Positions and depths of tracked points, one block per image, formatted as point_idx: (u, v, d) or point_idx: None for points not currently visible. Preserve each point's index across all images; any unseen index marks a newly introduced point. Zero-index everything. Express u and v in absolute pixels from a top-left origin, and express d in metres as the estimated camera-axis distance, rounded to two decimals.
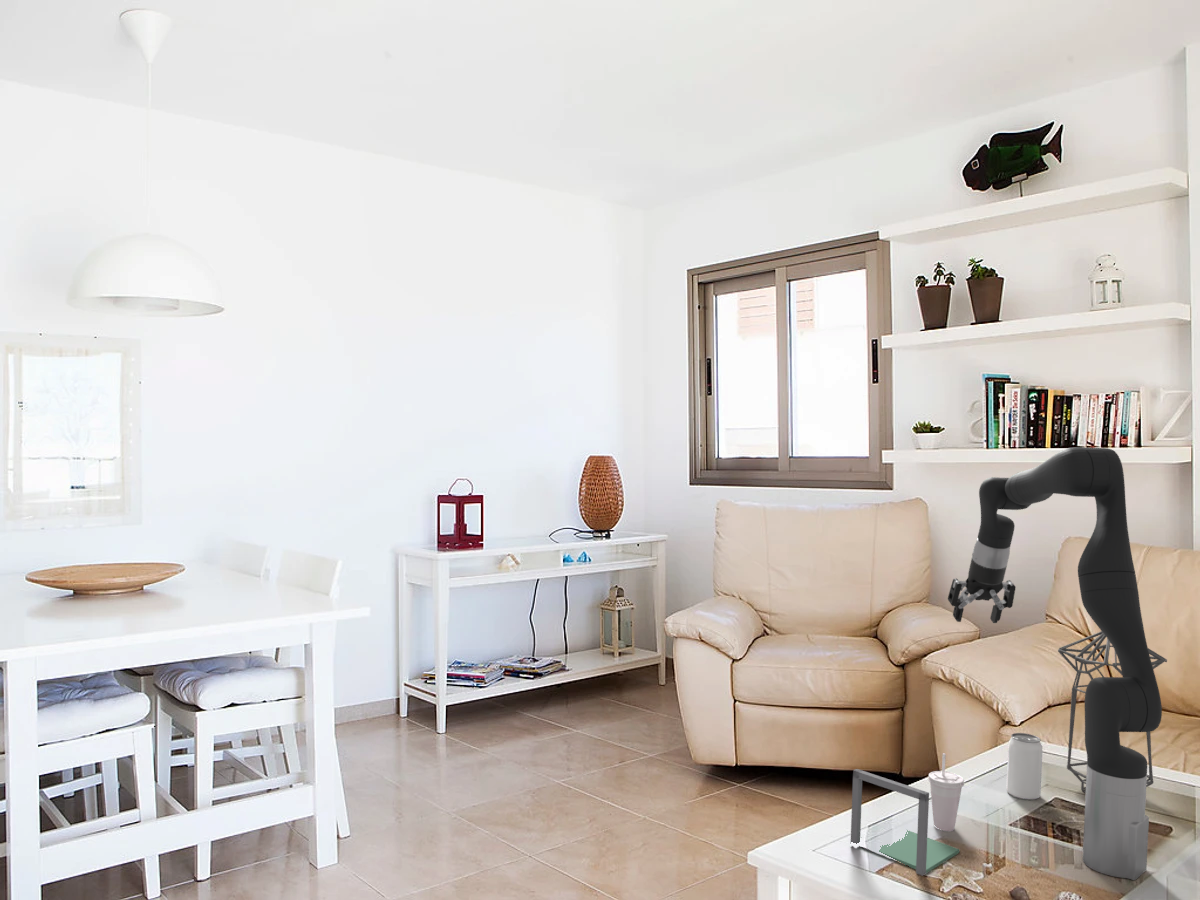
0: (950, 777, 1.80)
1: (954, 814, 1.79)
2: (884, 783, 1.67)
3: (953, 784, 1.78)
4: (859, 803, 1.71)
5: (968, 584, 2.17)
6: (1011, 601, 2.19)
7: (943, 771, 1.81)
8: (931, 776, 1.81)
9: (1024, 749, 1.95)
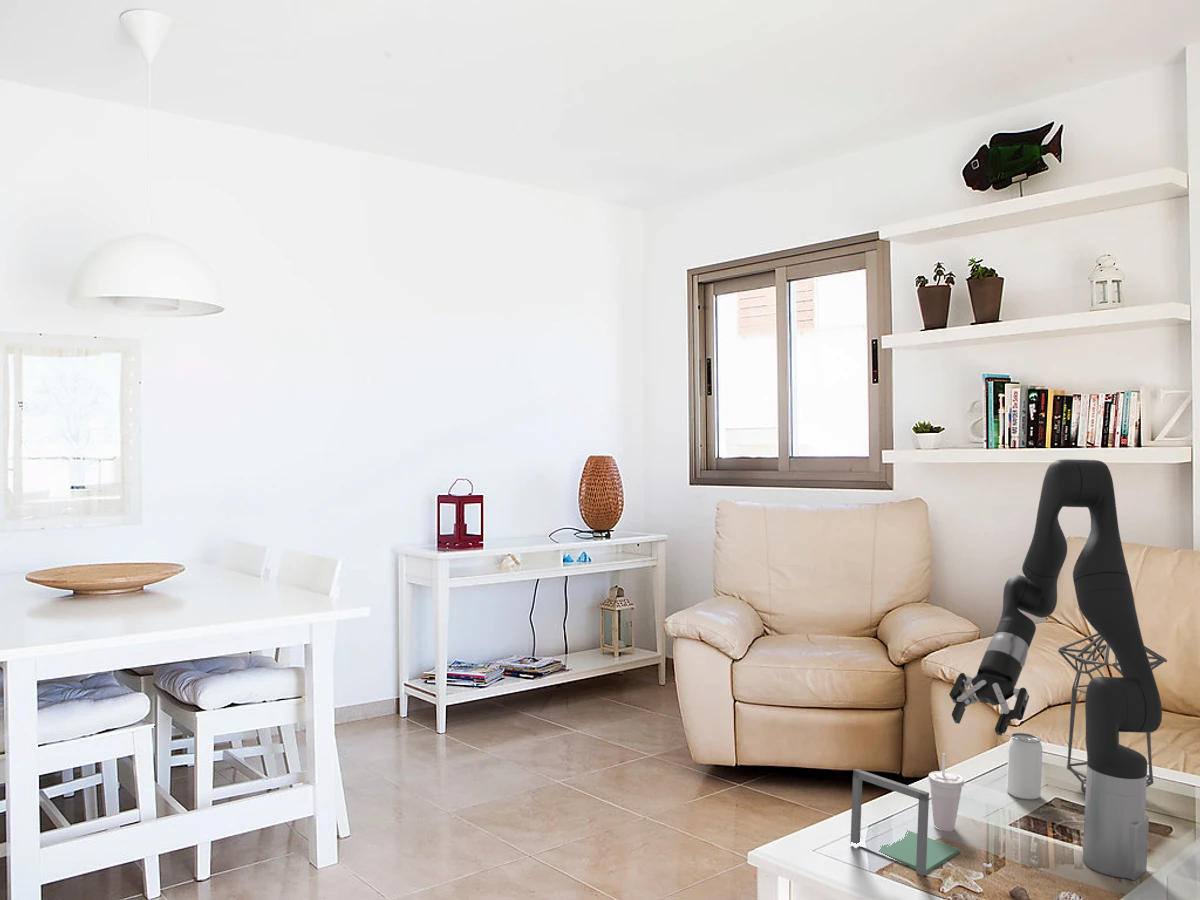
0: (950, 777, 1.80)
1: (954, 814, 1.79)
2: (884, 783, 1.67)
3: (953, 784, 1.78)
4: (859, 803, 1.71)
5: (973, 678, 1.96)
6: (1019, 706, 1.86)
7: (943, 771, 1.81)
8: (931, 776, 1.81)
9: (1024, 749, 1.95)
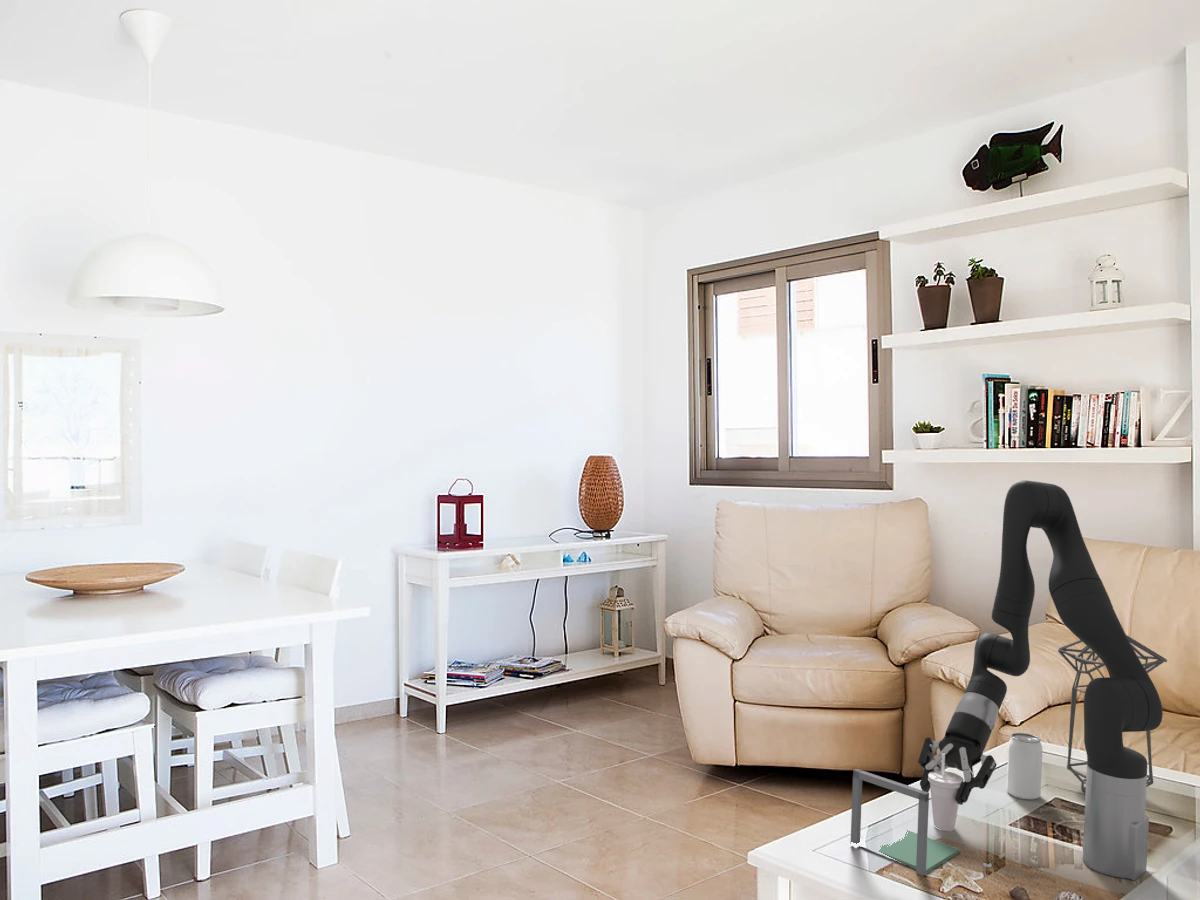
0: (950, 777, 1.80)
1: (954, 814, 1.79)
2: (884, 783, 1.67)
3: (953, 784, 1.78)
4: (859, 803, 1.71)
5: (940, 741, 1.87)
6: (981, 774, 1.78)
7: (943, 771, 1.81)
8: (931, 776, 1.81)
9: (1024, 749, 1.95)
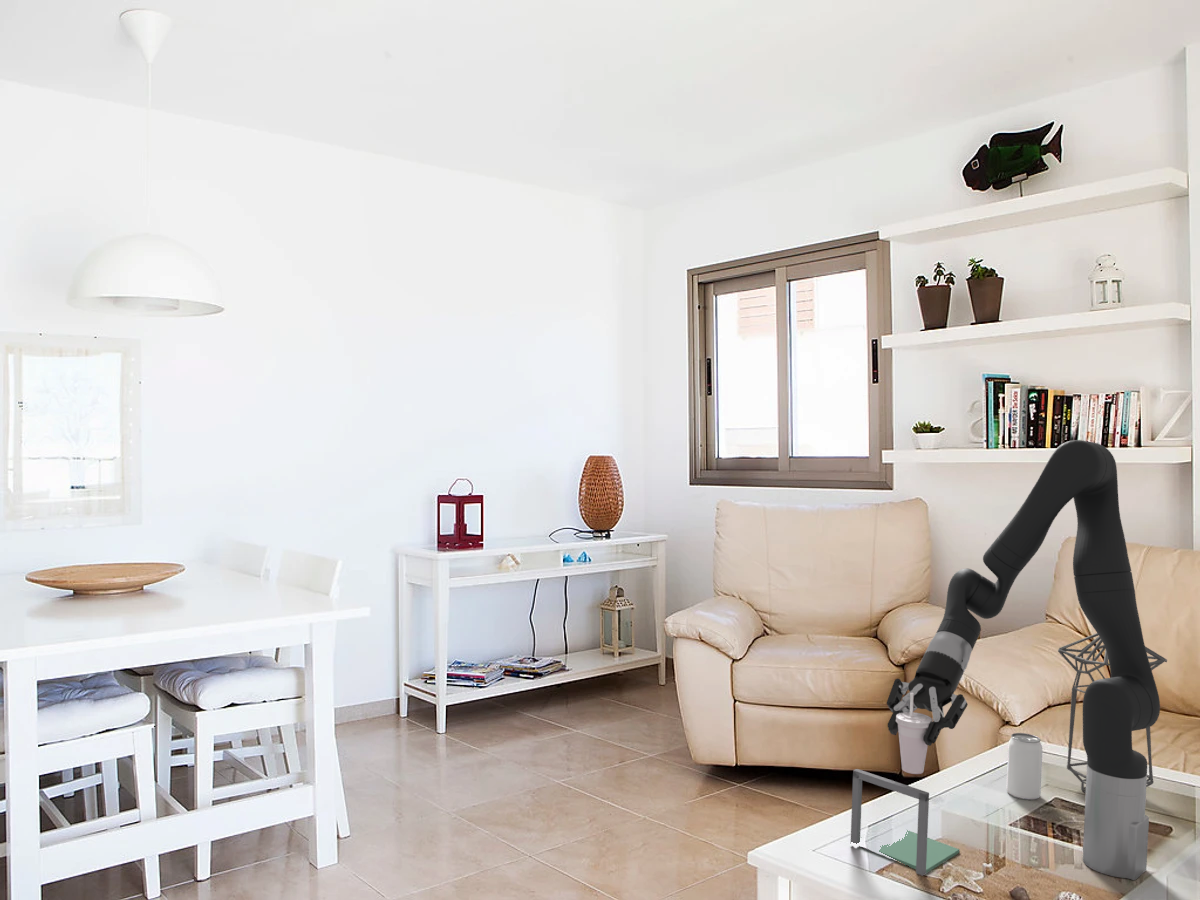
0: (918, 717, 1.72)
1: (922, 756, 1.71)
2: (884, 783, 1.67)
3: (921, 724, 1.69)
4: (859, 803, 1.71)
5: None
6: (951, 713, 1.69)
7: (911, 711, 1.72)
8: (898, 716, 1.72)
9: (1024, 749, 1.95)
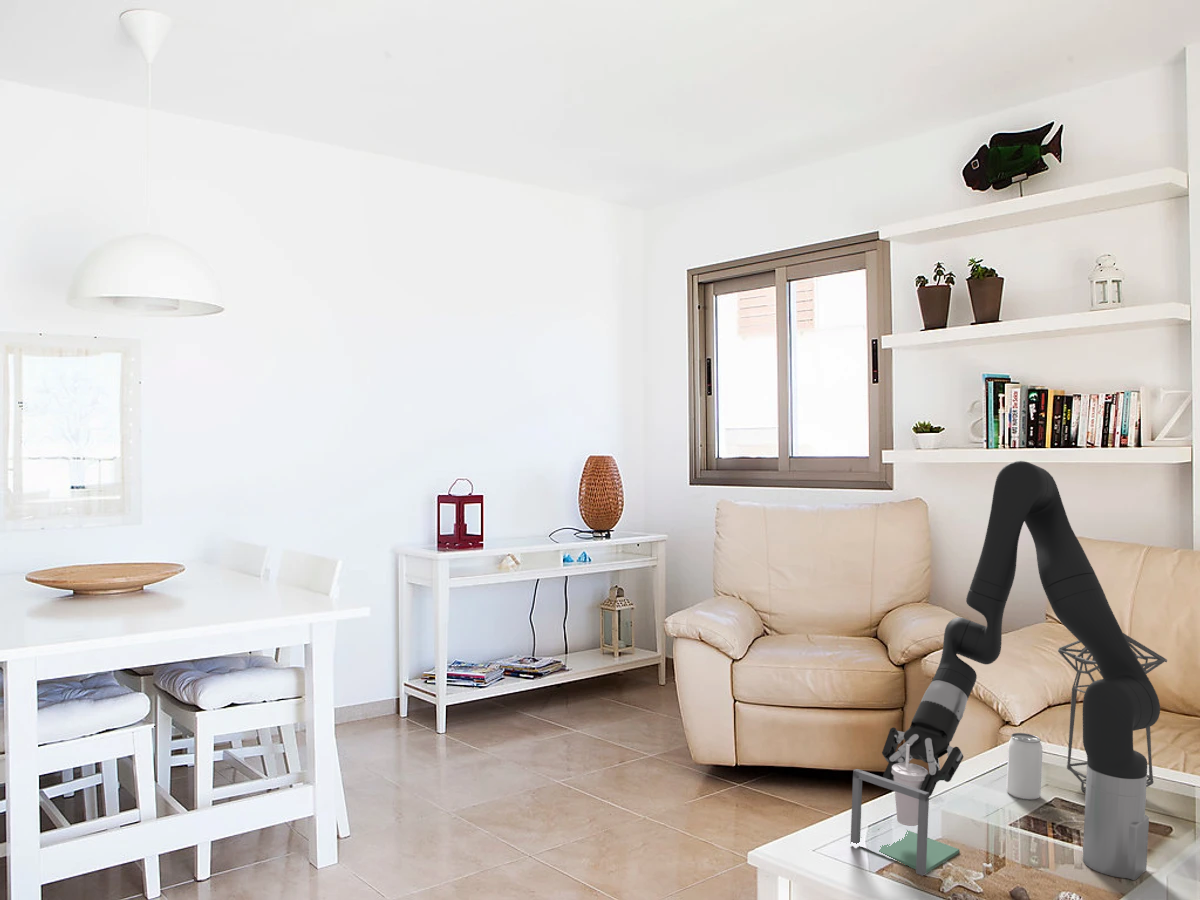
0: (914, 769, 1.71)
1: None
2: (884, 783, 1.67)
3: (917, 777, 1.69)
4: (859, 803, 1.71)
5: None
6: (947, 767, 1.68)
7: (907, 763, 1.72)
8: (894, 768, 1.72)
9: (1024, 749, 1.95)
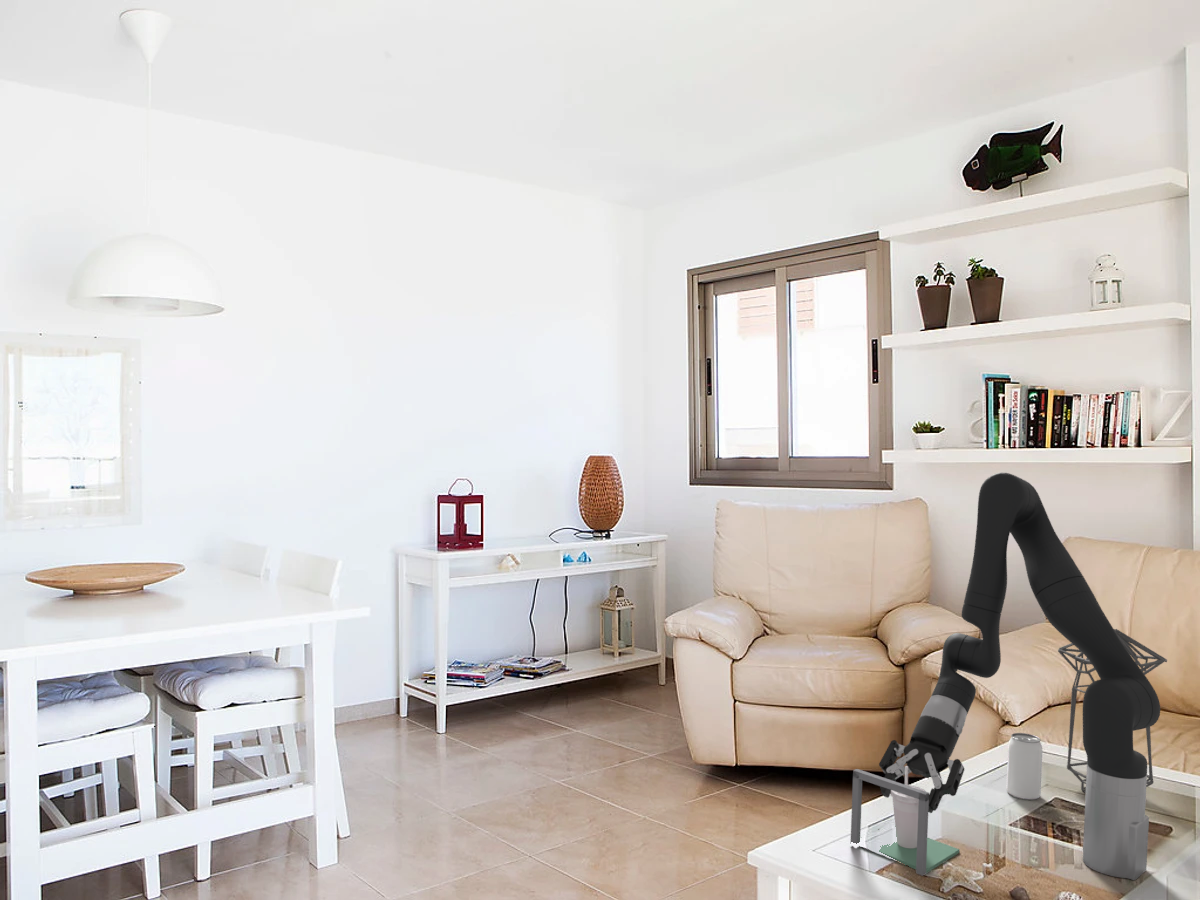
0: None
1: (917, 830, 1.70)
2: (884, 783, 1.67)
3: (916, 799, 1.69)
4: (859, 803, 1.71)
5: (905, 746, 1.78)
6: (951, 780, 1.68)
7: None
8: None
9: (1024, 749, 1.95)
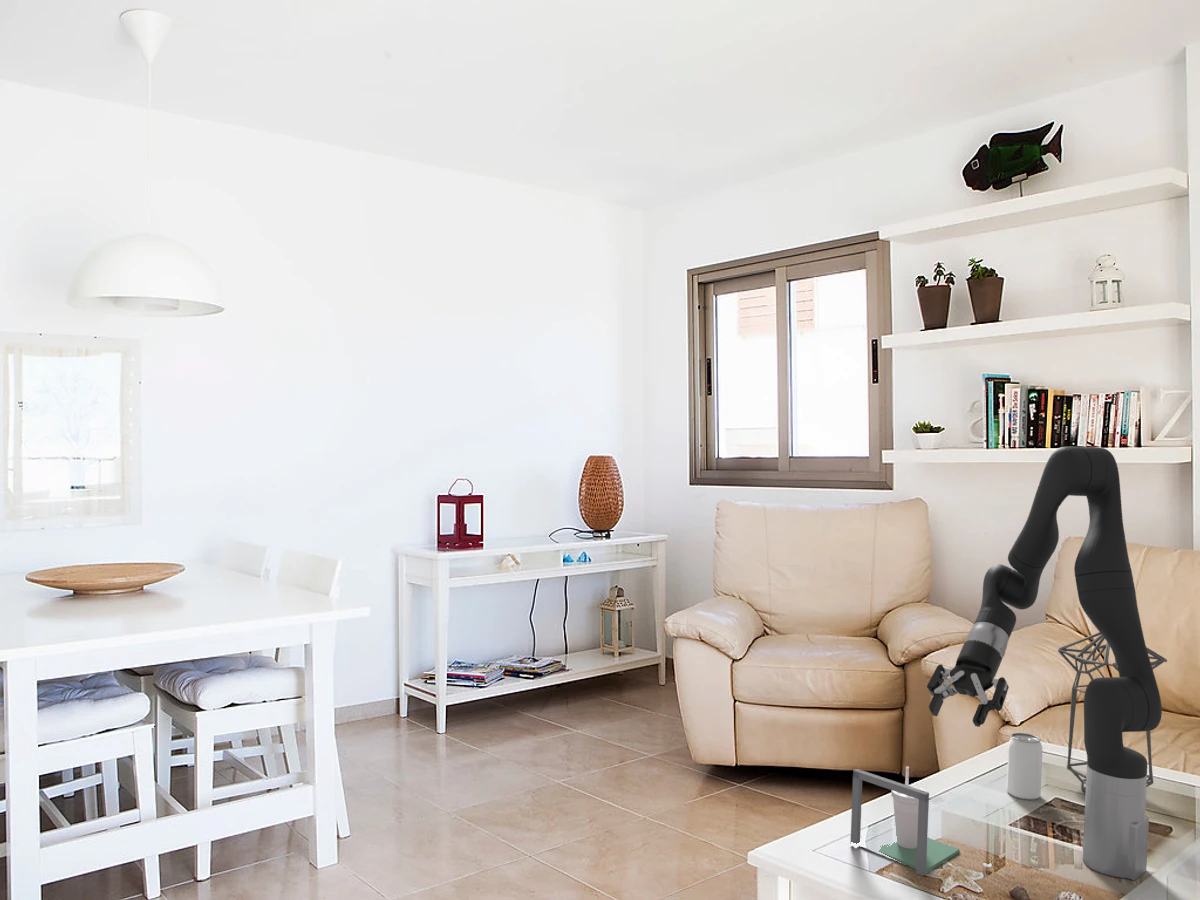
0: None
1: None
2: (884, 783, 1.67)
3: (916, 799, 1.69)
4: (859, 803, 1.71)
5: (951, 669, 1.89)
6: (997, 696, 1.79)
7: None
8: None
9: (1024, 749, 1.95)
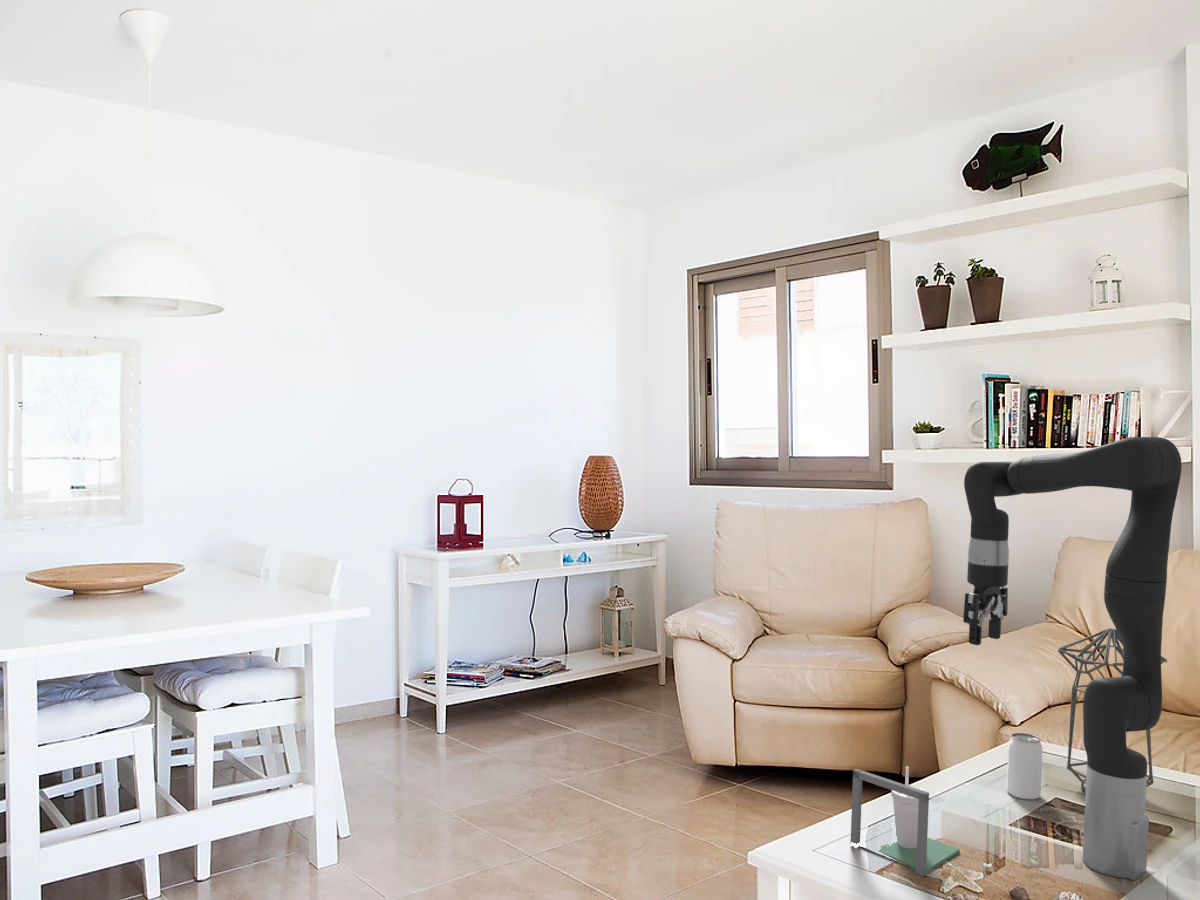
0: None
1: None
2: (884, 783, 1.67)
3: (916, 799, 1.69)
4: (859, 803, 1.71)
5: (981, 594, 1.88)
6: (1006, 607, 1.95)
7: None
8: None
9: (1024, 749, 1.95)
